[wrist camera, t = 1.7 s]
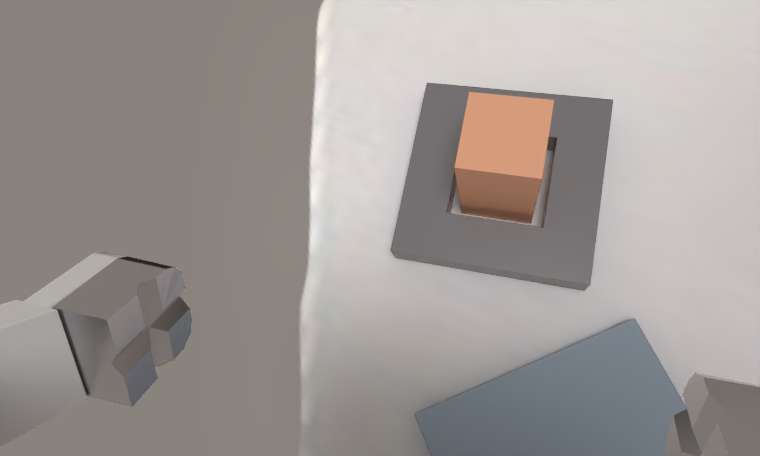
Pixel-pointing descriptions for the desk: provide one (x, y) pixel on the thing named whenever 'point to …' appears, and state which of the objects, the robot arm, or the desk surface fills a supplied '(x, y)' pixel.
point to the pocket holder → (497, 238)
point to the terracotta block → (502, 155)
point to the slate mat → (564, 405)
